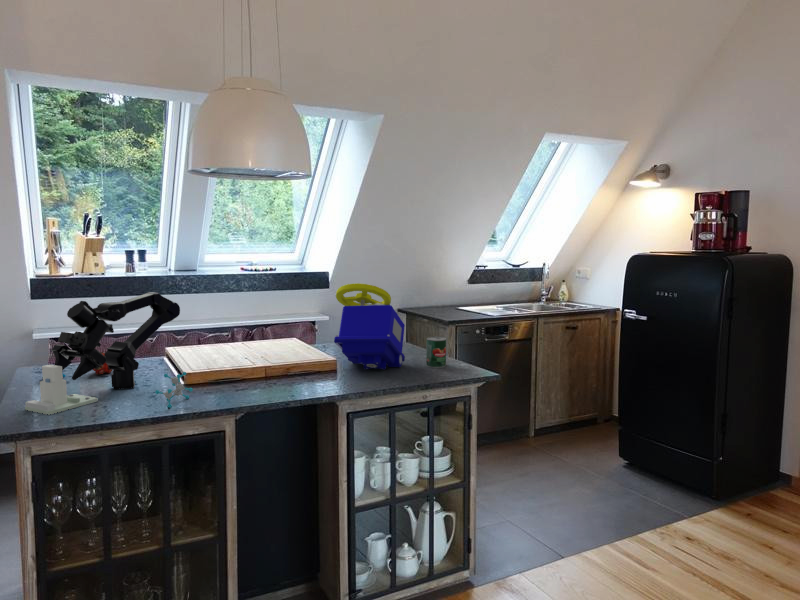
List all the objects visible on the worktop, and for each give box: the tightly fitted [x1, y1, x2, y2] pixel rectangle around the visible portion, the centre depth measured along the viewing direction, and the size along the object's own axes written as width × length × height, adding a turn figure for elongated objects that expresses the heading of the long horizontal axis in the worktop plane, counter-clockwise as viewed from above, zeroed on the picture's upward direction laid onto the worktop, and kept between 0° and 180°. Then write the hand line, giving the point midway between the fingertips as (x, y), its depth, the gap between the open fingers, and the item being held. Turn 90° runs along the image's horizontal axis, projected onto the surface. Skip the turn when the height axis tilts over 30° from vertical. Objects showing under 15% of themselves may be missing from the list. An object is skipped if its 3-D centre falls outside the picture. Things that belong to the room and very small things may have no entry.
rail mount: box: [24, 393, 99, 416], centre depth 186 cm, size 16×11×2 cm
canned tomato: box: [425, 336, 447, 369], centre depth 242 cm, size 8×8×11 cm
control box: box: [333, 282, 406, 371], centre depth 239 cm, size 26×27×30 cm
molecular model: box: [154, 371, 194, 409], centre depth 190 cm, size 12×14×15 cm
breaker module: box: [39, 364, 68, 406], centre depth 184 cm, size 5×6×12 cm
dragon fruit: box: [92, 351, 113, 376], centre depth 226 cm, size 8×8×12 cm
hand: (62, 377), depth 186 cm, fingers open, 9 cm apart
